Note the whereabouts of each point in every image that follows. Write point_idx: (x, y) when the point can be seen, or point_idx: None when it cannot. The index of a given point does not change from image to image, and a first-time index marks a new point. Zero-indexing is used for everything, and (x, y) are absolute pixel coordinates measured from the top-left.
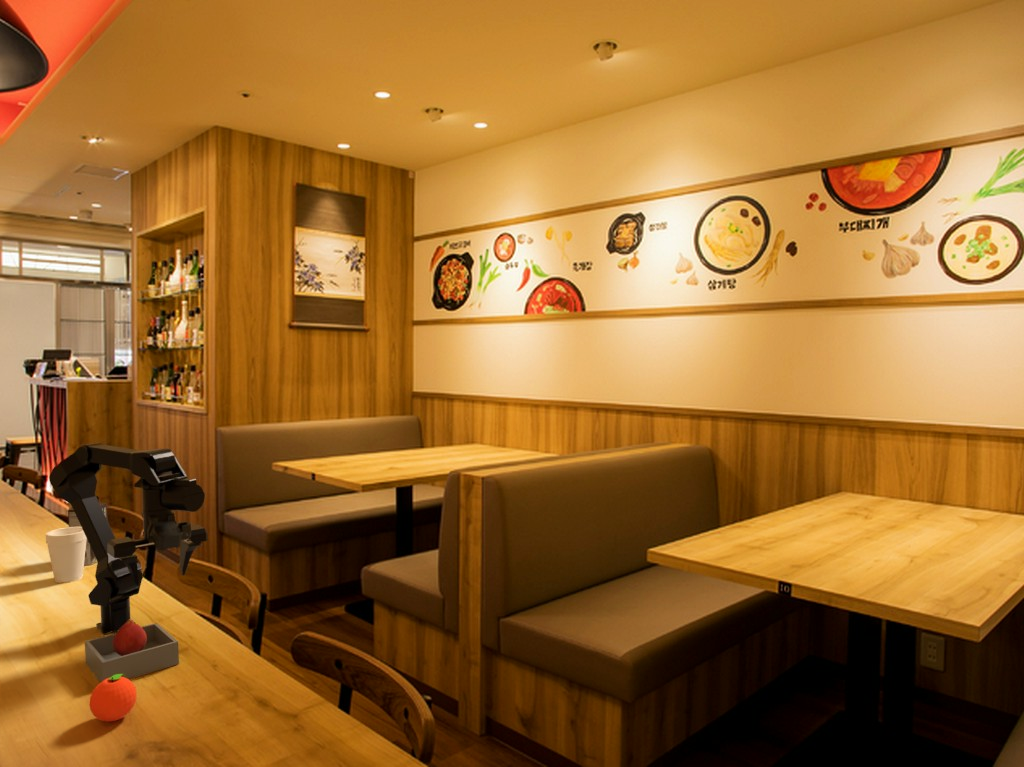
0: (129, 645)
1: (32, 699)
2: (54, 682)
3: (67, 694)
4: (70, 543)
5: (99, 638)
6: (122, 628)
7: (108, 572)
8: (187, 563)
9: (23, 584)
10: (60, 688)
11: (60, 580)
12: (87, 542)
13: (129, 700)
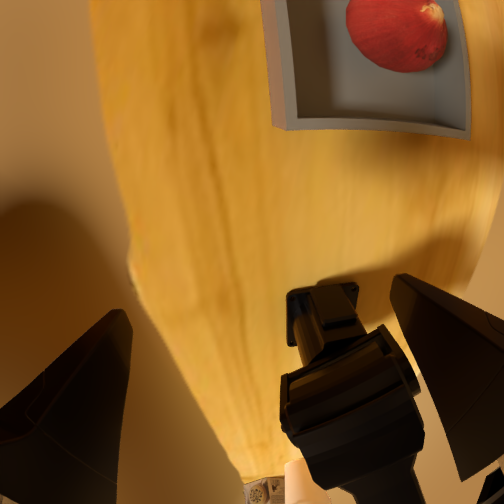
0: None
1: (496, 55)
2: (477, 88)
3: (464, 19)
4: (310, 500)
5: (447, 128)
6: (444, 19)
7: (418, 410)
8: (64, 355)
9: None
10: (472, 53)
11: None
12: (272, 499)
13: None
